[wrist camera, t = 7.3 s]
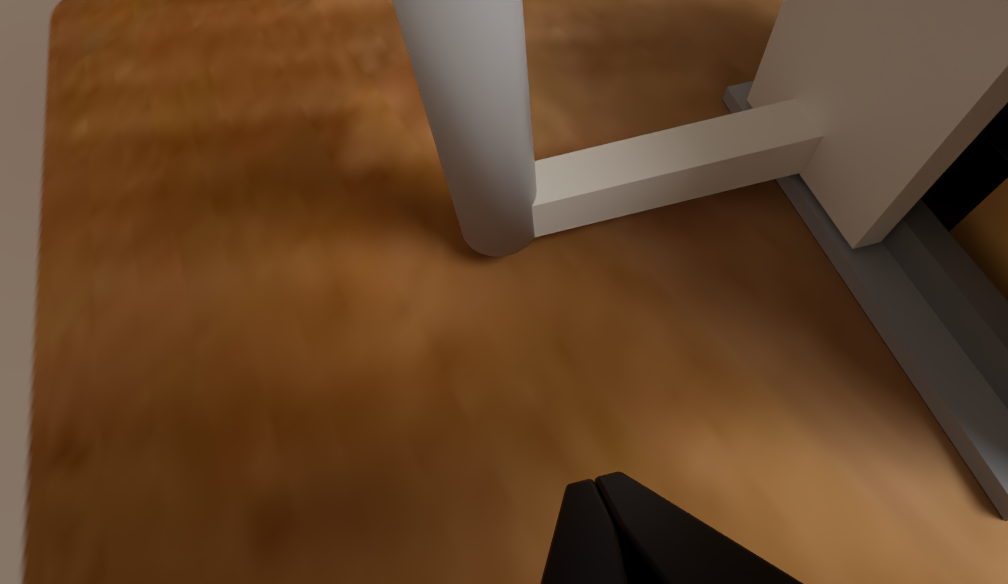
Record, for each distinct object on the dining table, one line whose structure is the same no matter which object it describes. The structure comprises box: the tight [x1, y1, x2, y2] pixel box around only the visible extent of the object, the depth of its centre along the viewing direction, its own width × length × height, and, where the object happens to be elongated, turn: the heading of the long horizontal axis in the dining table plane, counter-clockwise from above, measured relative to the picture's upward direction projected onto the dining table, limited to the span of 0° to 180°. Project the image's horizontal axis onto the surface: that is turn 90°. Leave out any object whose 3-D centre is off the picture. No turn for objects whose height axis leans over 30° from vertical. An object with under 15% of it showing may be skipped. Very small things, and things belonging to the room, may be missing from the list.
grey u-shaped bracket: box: [392, 0, 1008, 257], centre depth 14 cm, size 8×14×13 cm, turn 102°
